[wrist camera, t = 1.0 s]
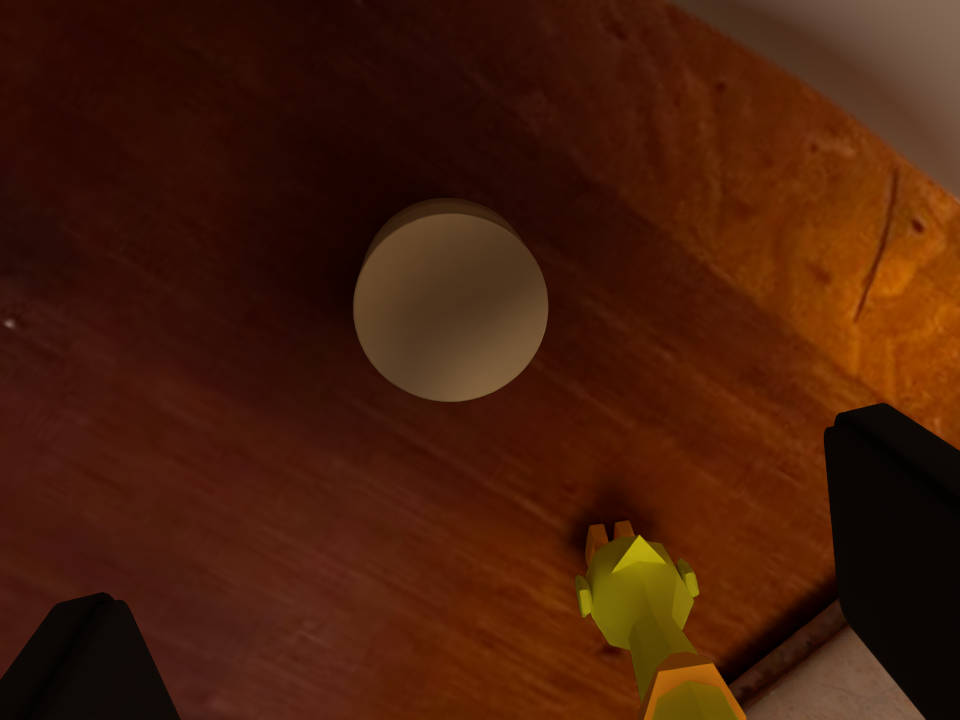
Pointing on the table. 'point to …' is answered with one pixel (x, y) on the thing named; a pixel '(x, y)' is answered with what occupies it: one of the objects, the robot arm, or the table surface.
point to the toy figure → (652, 625)
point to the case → (822, 678)
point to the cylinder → (449, 301)
